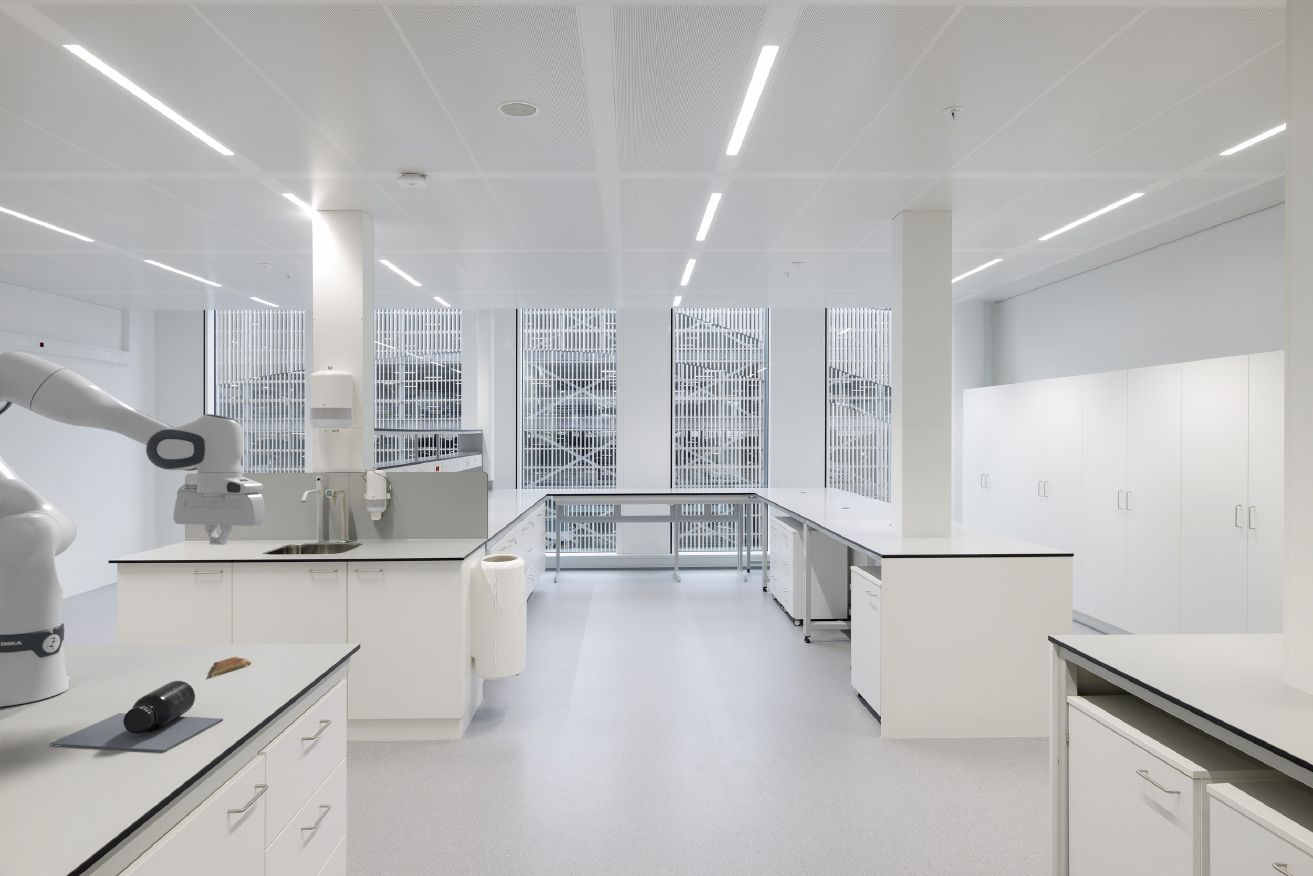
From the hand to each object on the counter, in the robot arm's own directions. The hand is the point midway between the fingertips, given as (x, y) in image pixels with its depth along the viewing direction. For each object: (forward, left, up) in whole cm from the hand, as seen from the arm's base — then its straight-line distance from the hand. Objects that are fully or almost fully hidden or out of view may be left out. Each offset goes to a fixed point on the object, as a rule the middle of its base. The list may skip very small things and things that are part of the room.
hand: (218, 544), depth 155 cm
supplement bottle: (+9, -20, -27) cm, 35 cm away
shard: (-2, +8, -32) cm, 33 cm away
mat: (+8, -28, -31) cm, 43 cm away
